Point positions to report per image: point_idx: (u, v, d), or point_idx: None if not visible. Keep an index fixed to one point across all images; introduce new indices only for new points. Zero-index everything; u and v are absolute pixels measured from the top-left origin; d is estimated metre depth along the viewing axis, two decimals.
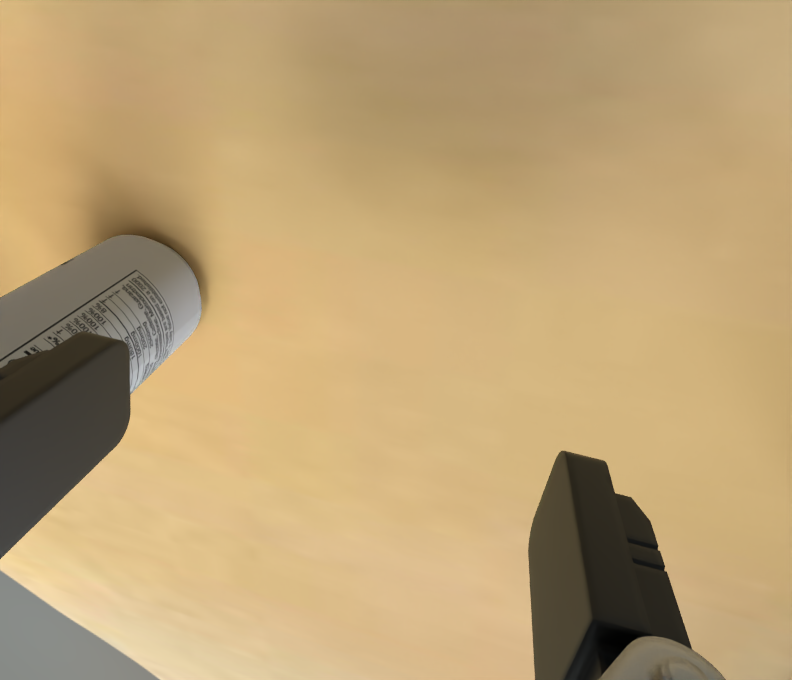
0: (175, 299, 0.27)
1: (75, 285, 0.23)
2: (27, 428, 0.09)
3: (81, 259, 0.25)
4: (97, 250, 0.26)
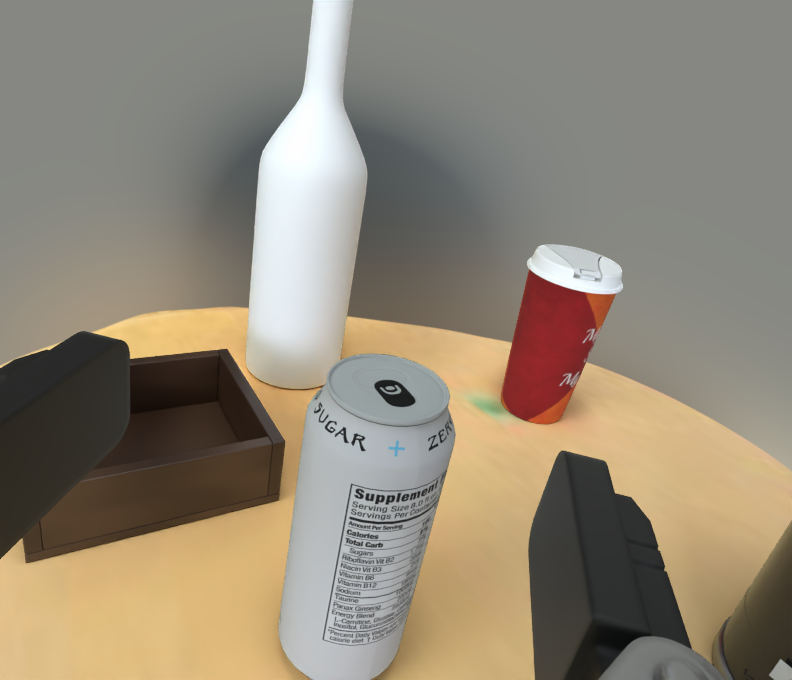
0: (397, 635, 0.27)
1: None
2: (27, 428, 0.09)
3: None
4: None
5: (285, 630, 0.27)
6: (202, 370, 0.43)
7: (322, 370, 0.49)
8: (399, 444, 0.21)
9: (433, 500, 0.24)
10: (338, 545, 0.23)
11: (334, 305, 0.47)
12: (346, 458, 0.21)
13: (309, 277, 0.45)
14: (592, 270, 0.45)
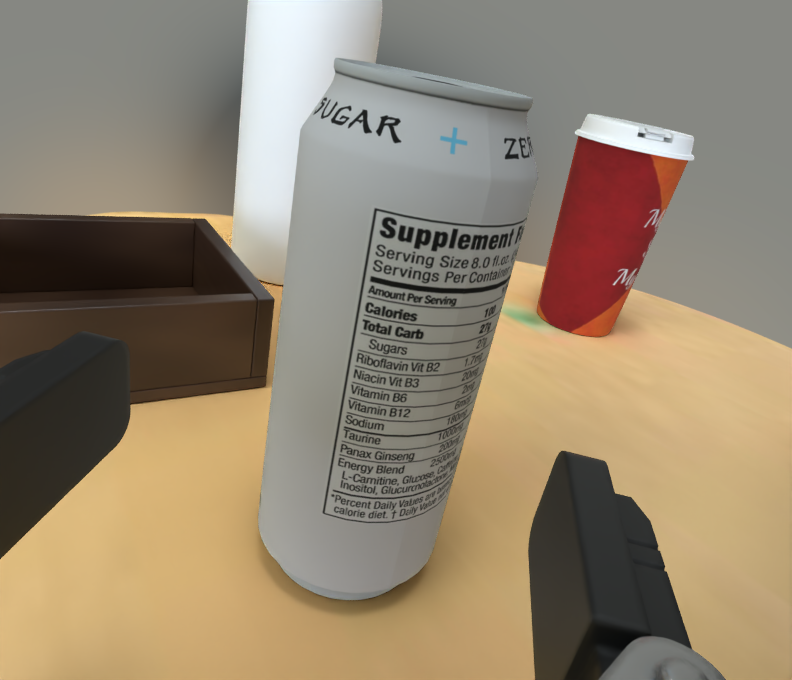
0: (434, 521, 0.18)
1: None
2: (27, 428, 0.09)
3: None
4: None
5: (267, 512, 0.18)
6: (173, 241, 0.34)
7: None
8: (458, 135, 0.13)
9: (503, 272, 0.15)
10: (351, 336, 0.14)
11: None
12: (367, 157, 0.13)
13: None
14: None
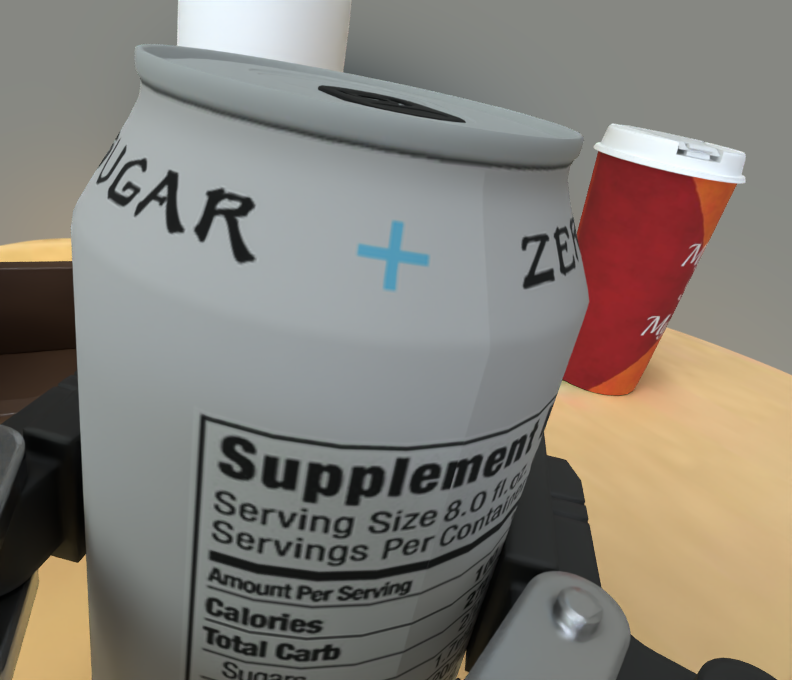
0: None
1: None
2: None
3: None
4: None
5: None
6: None
7: None
8: (407, 240, 0.05)
9: (515, 494, 0.07)
10: (184, 650, 0.07)
11: None
12: (172, 295, 0.05)
13: None
14: None
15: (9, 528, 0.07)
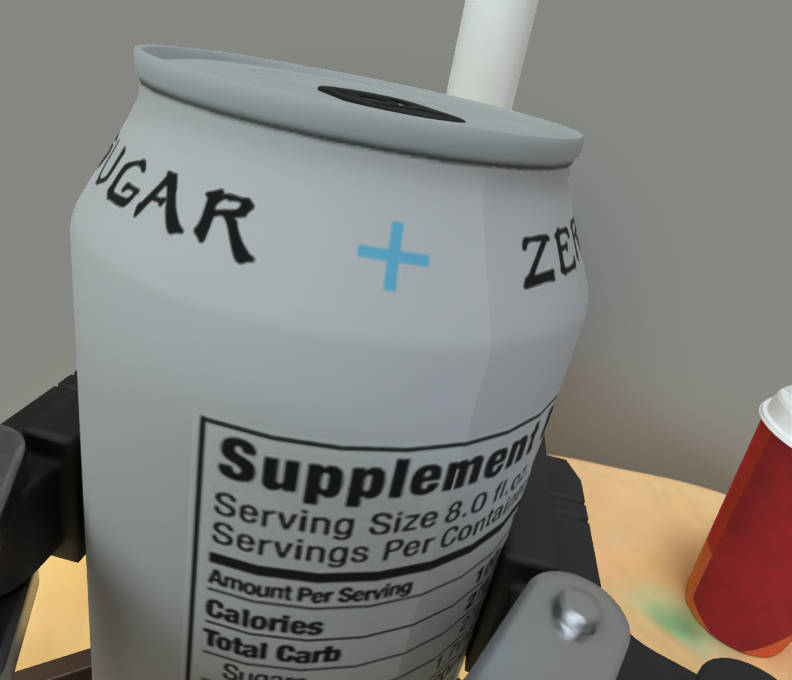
0: None
1: None
2: None
3: None
4: None
5: None
6: None
7: None
8: (407, 241, 0.05)
9: (515, 495, 0.07)
10: (184, 652, 0.07)
11: None
12: (171, 298, 0.05)
13: None
14: None
15: (9, 528, 0.07)
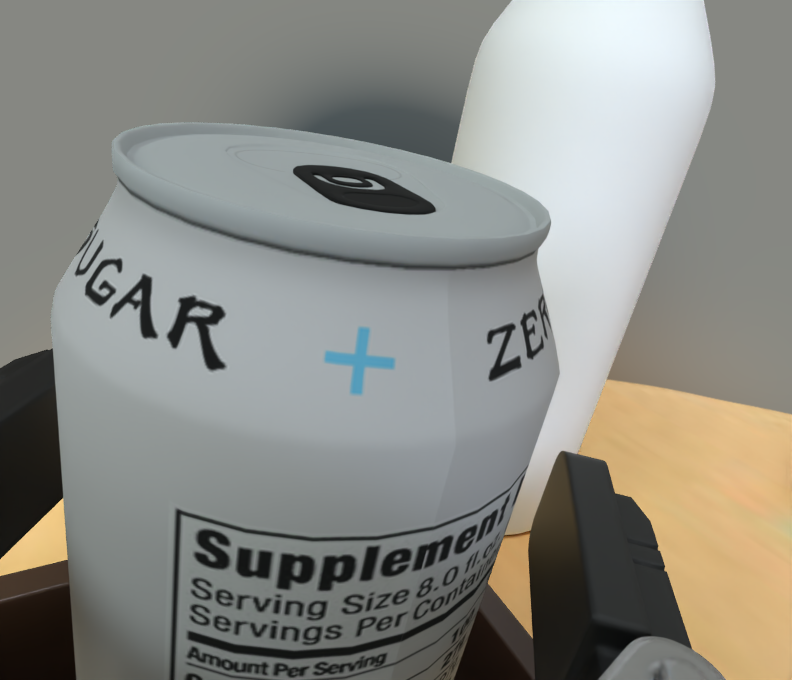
0: None
1: None
2: (27, 428, 0.09)
3: None
4: None
5: None
6: None
7: None
8: (373, 344, 0.05)
9: (489, 559, 0.07)
10: None
11: (603, 374, 0.23)
12: (145, 400, 0.05)
13: (580, 318, 0.20)
14: None
15: None
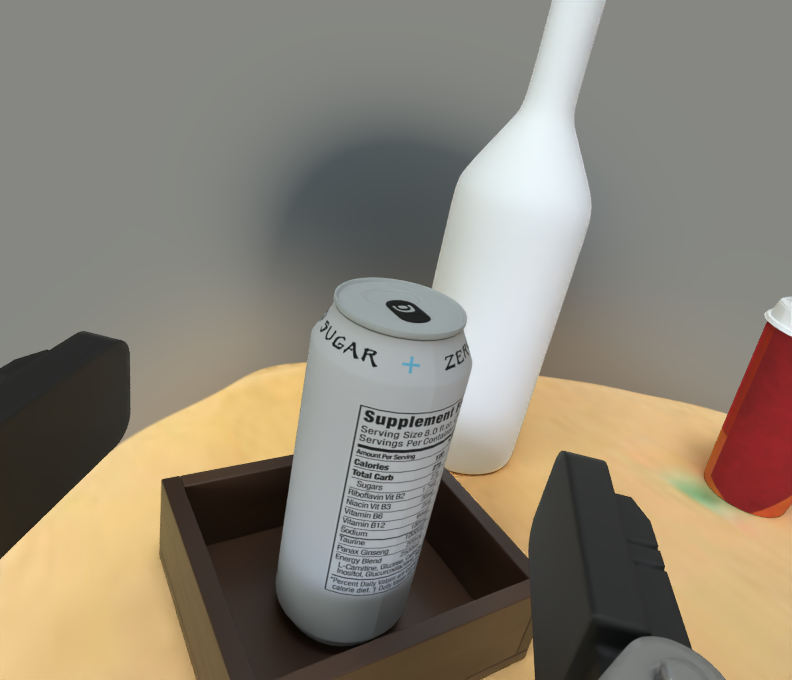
0: (405, 589, 0.25)
1: None
2: (27, 428, 0.09)
3: None
4: None
5: (283, 583, 0.25)
6: None
7: (506, 450, 0.39)
8: (414, 360, 0.20)
9: (448, 431, 0.22)
10: (345, 478, 0.21)
11: (534, 372, 0.37)
12: (355, 374, 0.20)
13: (515, 340, 0.35)
14: None
15: None
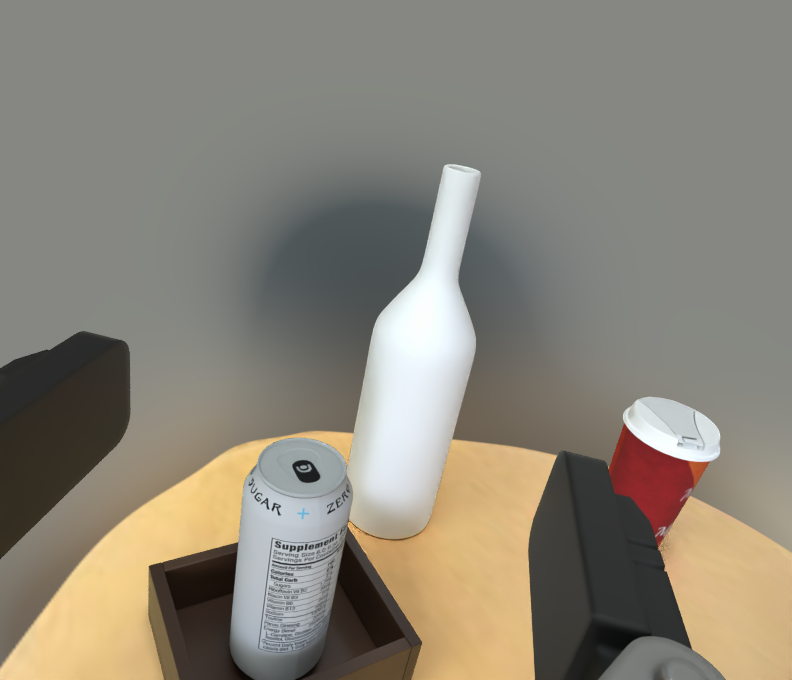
0: (317, 645, 0.36)
1: None
2: (27, 428, 0.09)
3: None
4: None
5: (233, 641, 0.36)
6: None
7: (421, 520, 0.50)
8: (305, 510, 0.31)
9: (335, 547, 0.33)
10: (265, 580, 0.32)
11: (438, 463, 0.48)
12: (268, 520, 0.31)
13: (419, 443, 0.46)
14: (694, 437, 0.46)
15: None
